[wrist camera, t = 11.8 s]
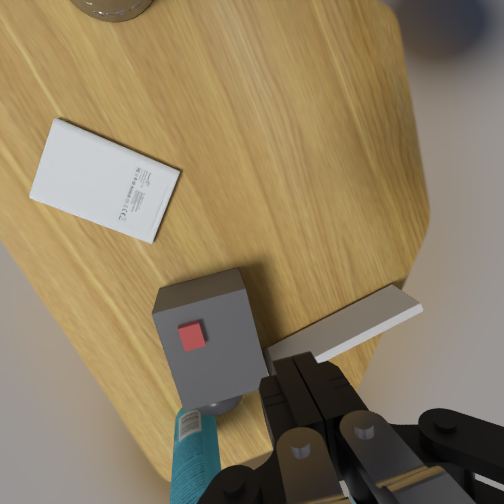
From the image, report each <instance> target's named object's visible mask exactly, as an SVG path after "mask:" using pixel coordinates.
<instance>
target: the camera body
mask: <svg viewBox="0 0 504 504" xmlns="http://www.w3.org/2000/svg"><path fill="white" fill-rule="evenodd" d="M152 317H153V320H154V323H155V325H156V328H157V331H158V334H159V337H160V340H161V343H162V346H163V349H164V352H165V355H166V358H167V361H168V364H169V367H170V370H171V373H172V376H173V379H174V382H175V385H176V388H177V391H178V394H179V397H180V400H181V402H182V405H183V408H184V411H185V412H186V411H189V410H192V409H196V408H197V409H198V411H199V412H200V413H201V414H203V415H206V416H218V415H222V414H224V413H227V412H229V411H230V410H232V409H233V408H235V407H236V406H237V405H238V404H239V402H240V401H241V399H242V395H243V394H246V393H250V392H253V391H256V390H259V385H260V381H261V378H264V377H268V374H267V370H266V366H265V362H264V358H263V354H262V351H261V347H260V343H259V339H258V335H257V331H256V327H255V323H254V319H253V315H252V312H251V308H250V304H249V300H248V296H247V292H246V288H245V286H244V283H243V280H242V277H241V275H240V272H239V269H238V268H234V269H231V270H227V271H223V272H219V273H216V274H212V275H208V276H205V277H201V278H197V279H193V280H190V281H186V282H182V283H179V284H175V285H171V286H167V287H164V288H160V289H159V291H158V294H157V298H156V301H155V305H154V308H153V311H152Z"/></svg>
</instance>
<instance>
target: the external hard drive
mask: <svg viewBox="0 0 504 504" xmlns="http://www.w3.org/2000/svg"><path fill="white" fill-rule="evenodd" d="M179 174H180V171H178V170H176V169H174V168H172V167H169V166H167V165H165V164H162V163H160V162H158V161H155V160H153V159H151V158H149V157H146V156H144V155H142V154H139V153H137V152H135V151H132V150H130V149H128V148H125V147H123V146H121V145H118V144H116V143H114V142H111V141H109V140H107V139H105V138H102V137H100V136H98V135H95V134H93V133H91V132H88V131H86V130H84V129H81V128H79V127H77V126H74V125H72V124H70V123H67V122H65V121H63V120H60V119H58V118H55V119H54V120H53V123H52V126H51V129H50V132H49V135H48V138H47V141H46V144H45V148H44V151H43V154H42V157H41V160H40V163H39V166H38V169H37V172H36V176H35V179H34V182H33V185H32V188H31V191H30V194H29V198H31V199H33V200H36V201H39V202H41V203H44V204H47V205H49V206H52V207H55V208H57V209H60V210H63V211H65V212H68V213H70V214H73V215H76V216H79V217H81V218H84V219H87V220H89V221H92V222H94V223H97V224H100V225H102V226H105V227H108V228H110V229H113V230H116V231H118V232H121V233H124V234H126V235H129V236H132V237H134V238H137V239H140V240H142V241H145V242H148V243H150V244H152V243H153V240H154V238H155V235H156V232H157V230H158V227H159V225H160V222H161V220H162V217H163V214H164V212H165V209H166V207H167V204H168V202H169V199H170V197H171V194H172V192H173V189H174V187H175V184H176V182H177V179H178V176H179Z"/></svg>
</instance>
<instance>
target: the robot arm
mask: <svg viewBox="0 0 504 504" xmlns="http://www.w3.org/2000/svg"><path fill="white" fill-rule="evenodd" d="M70 1H71V2H72V3H73V4H74V5H75V6H76V7H78V8H79V9H80V10H81V11H83V12H84V13H86V14H87V15H89V16H91V17H93V18H96V19H99V20H102V21H108V22H121V21H126V20H129V19H132V18H134V17H136V16H137V15H139V14H140V13H142V12H143V11H144V10H145V9H146V8H147V7H148V6H149V5H150V3H151V2H152V0H70ZM271 364H272V370H273V375H272V376H268V377H264V378H261V381H260V385H259V393H260V398H261V403H262V408H263V412H264V417H265V422H266V425H267V429H268V432H269V436H270V439H271V443H272V446H273V449H274V450H273V453H272V455H271V456H270V458H269V459H268V460H267V461H266V462H265V463H264V464H263V465H261V466H260V467H258V468H257V469H255V470H253V469H251V468H250V467H247V466H243V465H234V466H230V467H227V468H225V469H223V470H221V471H220V472H219V473H218V474H217V475H216V476H215V477H214V478H213V479H212V481H211V482H210V484H209V485H208V487H207V488H206V490H205V491H204V493H203V494H202V496H201V497H200V499H199V500H198V502H197V503H196V504H504V491H502V490H499V489H497V488H495V487H492V486H490V485H488V484H485V483H483V482H481V481H478V480H476V479H475V473H476V474H479V475H481V476H484V477H486V478H489V479H491V480H493V481H496V482H498V483H501V484H503V485H504V427H502V426H499V425H496V424H493V423H490V422H487V421H484V420H481V419H478V418H475V417H471V416H468V415H465V414H462V413H459V412H456V411H453V410H449V409H443V408H436V409H431V410H427V411H426V412H424V413H423V414H421V416H420V417H419V421H418V425H396V424H390V423H388V422H387V421H386V420H385V419H384V418H383V417H382V416H380V415H379V414H377V413H374V412H371V411H369V410H368V408H367V407H366V405H365V404H364V403H363V401H362V400H361V399H360V397H359V395H358V394H357V393H356V391H355V390H354V388H353V387H352V386H351V385H350V383H349V381H348V380H347V379H346V378H345V376H344V374H343V373H342V371H341V370H340V369H339V367H338V366H336V365H334V364H332V363H331V362H329V361H324V362H321V363H318V362H317V361H316V359H315V357H314V356H313V354H312V353H311V351H308V352H304V353H300V354H296V355H292V356H291V357H290V356H289V357H285V358H281V359H277V360H274V361H271ZM342 480H344V481H345V483H346V485H347V487H348V489H349V497H350V499H349V498H348V497H345V496H344V494H343V491H342V488H341V485H340V483H339V481H342Z"/></svg>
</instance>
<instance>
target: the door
mask: <svg viewBox="0 0 504 504" xmlns="http://www.w3.org/2000/svg"><path fill="white" fill-rule="evenodd" d="M422 311H423V308H422V305H421V303H420V302H418V301H417V300H415V299H414V298H412V297H411V296H409V295H408V294H406V293H405V292H403V291H402V290H400V289H398V288H397V287H395V286H394V285H392V284H391V285H389V286H388V287H386V288H384V289H382V290H380V291H378V292H376V293H374V294H372V295H370V296H368V297H366V298H364V299H362V300H360V301H358V302H356V303H354V304H352V305H350V306H348V307H346V308H344V309H342V310H341V311H339V312H337V313H335V314H333V315H331V316H329V317H327V318H325V319H323V320H321V321H319V322H317V323H315V324H313V325H311V326H309V327H307V328H305V329H303V330H301V331H299V332H297V333H296V334H294V335H292V336H290V337H288V338H286V339H284V340H282V341H280V342H278V343H276V344H274V345H272V346H270V347H268V348H265V349H263V350H262V354H263V358H264V361H265V365H266V368H267V371H268V374H269V376H272V375H273V370H272V364H271V361H274V360H277V359H281V358H285V357H289V356H290V357H291V356H292V355H296V354H300V353H304V352H308V351H311V353H312V354H313V356H314V357H315V359H316V361H317V362H318V363H321V362H324V361H327V360H329V359H331V358H333V357H335V356H336V355H338V354H340V353H342V352H344V351H346V350H348V349H350V348H352V347H354V346H356V345H358V344H360V343H362V342H364V341H366V340H368V339H370V338H372V337H374V336H375V335H377V334H379V333H381V332H383V331H385V330H387V329H389V328H391V327H393V326H395V325H397V324H399V323H401V322H403V321H405V320H407V319H409V318H411V317H413V316H414V315H416V314H418V313H420V312H422Z"/></svg>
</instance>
